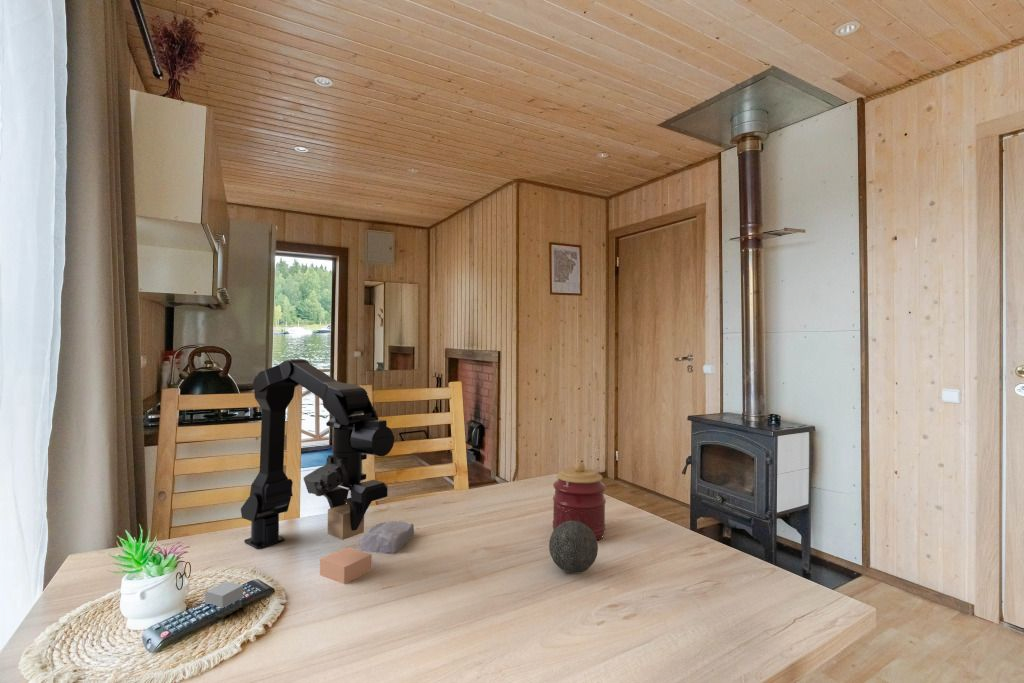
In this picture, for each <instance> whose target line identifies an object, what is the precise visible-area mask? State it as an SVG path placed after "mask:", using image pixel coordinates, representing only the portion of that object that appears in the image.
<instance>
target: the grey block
mask: <svg viewBox="0 0 1024 683" xmlns="http://www.w3.org/2000/svg"><path fill="white" fill-rule="evenodd" d="M204 595H205V596H204V605H205V604H213V605H216V606H218V607H220V608H224V607H226V606H228V605H230V604H231V603H233V602H235V601H237V600H239V599H241V598H242V597H243V598H244V585H243V584H239V583H236V582H235V583H234V582H233V581H232V582H231V581H228V580H226V581H224V582H221V583H220V584H218V585H216V586H213V587H212V588H210V589H207V590H206V591H205V593H204Z"/></svg>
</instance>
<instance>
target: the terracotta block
mask: <svg viewBox="0 0 1024 683" xmlns="http://www.w3.org/2000/svg"><path fill="white" fill-rule="evenodd" d="M370 571H372V554H371V553H370V552H366V551H362V550H359V549H356V548H353V547H349V546H347V547H344V548H342V549H340V550H337V551H336V552H333V553H331V554H328V555H326V556H323V557H321V558H319V576H321V577H324V578H326V579H329V580H331V581H334V582H338V583H339V584H343V585H345V584H347V583H349V582H350V581H353V580H355V579H357V578H359V577H360V576H363V575H364V574H367V573H369V572H370Z"/></svg>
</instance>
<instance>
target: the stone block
mask: <svg viewBox="0 0 1024 683" xmlns="http://www.w3.org/2000/svg"><path fill="white" fill-rule="evenodd" d="M414 525H415V524H414V523H408V522H405V521H402V520H401V521H400V520H399V521H398V520H390V521H384V522H380V523H376V525H374V526H373V527H371V528H370V529H369V530H368V531H367V532H366V533H365V534H363V535H362V536H361V537H360V538H359V540H358V541H359V547H360V551H362V552H365V553H376V554H377V553H380V554H381V553H382V554H393V555H394V554H396V553H397V552H398V551H399V550H400V549H401V548H403V546H405V544H406V543H407V542H409V540H411V539H412V538H413V535H414V532H415V529H414V527H415V526H414Z"/></svg>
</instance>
